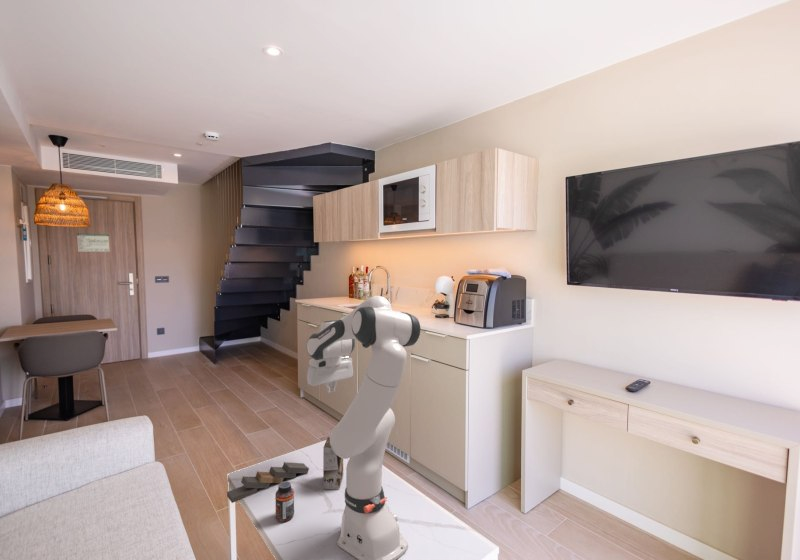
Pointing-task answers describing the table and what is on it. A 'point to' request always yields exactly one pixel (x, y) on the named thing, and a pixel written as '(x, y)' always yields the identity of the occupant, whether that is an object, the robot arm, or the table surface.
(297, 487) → the table surface
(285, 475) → the domino
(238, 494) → the domino
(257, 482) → the domino
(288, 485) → the supplement bottle
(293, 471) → the domino
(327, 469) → the coffee box
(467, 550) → the table surface
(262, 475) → the domino
